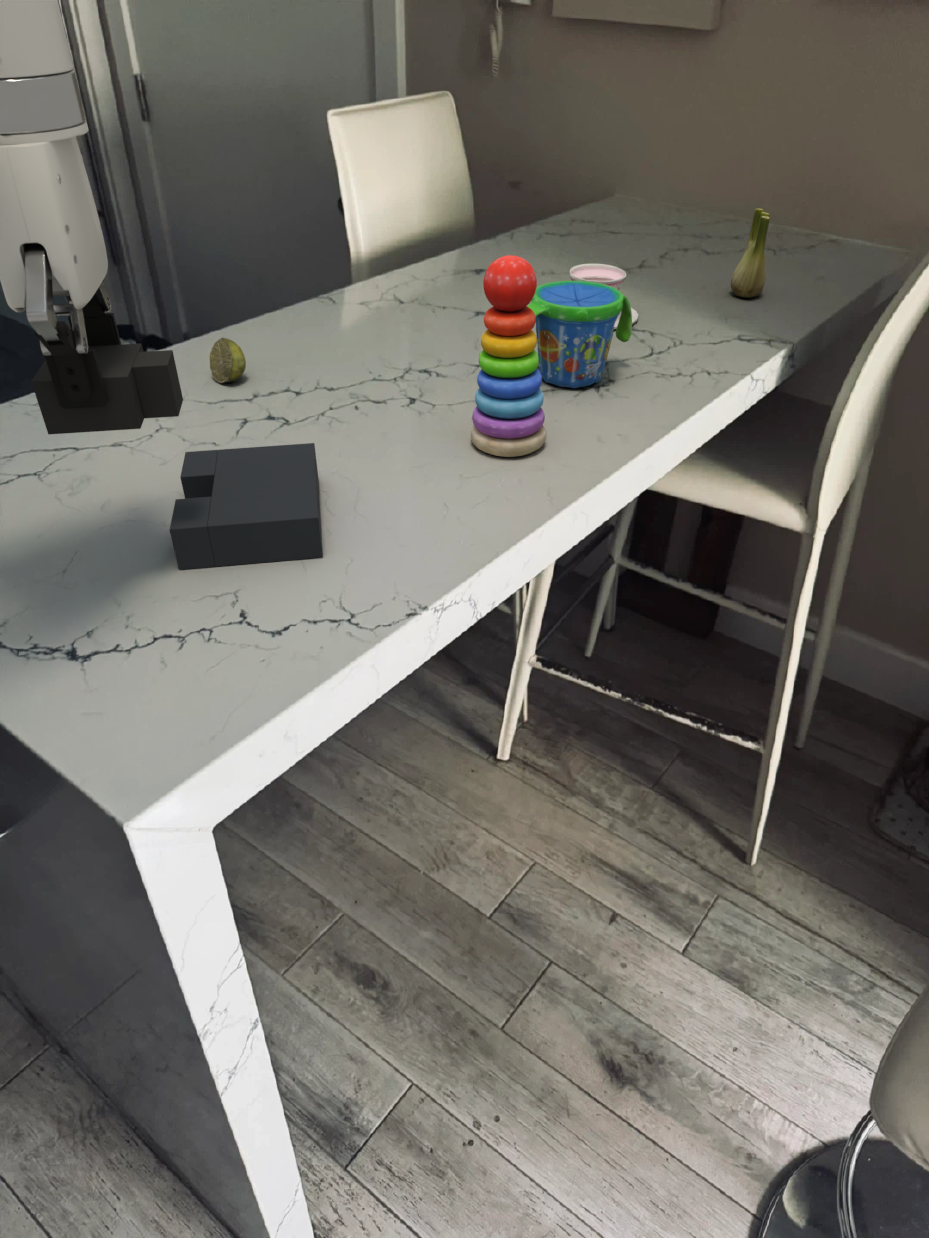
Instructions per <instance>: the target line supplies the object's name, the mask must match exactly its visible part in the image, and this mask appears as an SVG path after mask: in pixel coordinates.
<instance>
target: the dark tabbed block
mask: <svg viewBox="0 0 929 1238" xmlns="http://www.w3.org/2000/svg"><path fill="white" fill-rule="evenodd" d="M88 349H95V353H96V356H97V360H98V364H99V368H100V371H101V375H102V379H103V382H104V386H105V390H106V393H107V397H108V402H107V404H106V405H105V406H104V407H93V408H76V409H64V408H62V407H61V406H60V404H59V401H58V398H57V395H56V392H55V388H54V385H53V382H52V379H51V375H50V372H49V369H48V366H47V362H46V359H45V360H44V361H43V363H42V364H41V366H40V368H39V369H38V371H37V373H36V374H35V375H34V377H33V379H32V380H31V385H32V390H33V391H34V395H35V397H36V401H37V404H38V407H39V411H40V413H41V416H42V420H43V422H44V426H45V429H46V432H47V435H62V434H63V435H64V434H78V433H79V434H80V433H94V432H110V431H111V432H112V431H127V430H129V431H130V430H140V429H142V425H143V423H144V420H145V419H158V418H159V419H160V418H175V417H176V418H177V417H179V415H180V413H181V410H182V405H183V402H184V397H183V393H182V388H181V384H180V379H179V374H178V368H177V364H176V360H175V355H174V351H173V350H172V349H167V350H166V349H165V350H150V351H149V350H148V351H144V348H143V343H125V344H124V343H121V345H103V346H88Z"/></svg>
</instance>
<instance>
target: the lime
mask: <svg viewBox="0 0 929 1238" xmlns="http://www.w3.org/2000/svg"><path fill="white" fill-rule="evenodd" d="M246 365H247V361H246V357H245V354H244V351H243V350H242V348H241V347H240V345H239V344H237V342H235V341H234V340H232V339H229V338H226V337H221V338H218V339H217V340H216V341H215V342H214V344H213V345H212V348H211V350H210V353H209V370H210V374H211V375H212V378H213V379H214V381H216V382H217V383H219V384H228V383H233V382H234V381H236V380H238V379H239V378H241V376H242V375H243V374H244V373H245V371H246V367H247V366H246Z"/></svg>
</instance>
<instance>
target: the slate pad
mask: <svg viewBox="0 0 929 1238" xmlns="http://www.w3.org/2000/svg"><path fill="white" fill-rule="evenodd" d="M318 471H319V469H318V462H317V453H316V445H315V442H307V443H296V444H295V443H294V444H281V445H280V444H279V445H266V446H252V447H237V448H222V449H208V450H207V449H206V450H195V451H194V450H193V451H185V453H184V457H183V463H182V466H181V472H180V476H179V478H180V482H181V483H180V484H181V486H182V487H181V488H182V491H183V495H184V496H183V497H184V498H176V499H175V501H174V506H173V509H172V510H173V511H172V515H171V519H170V520H171V521H170V525H169V533H170V537H171V543H172V546H173V550H174V555H175V559H176V563H177V567H178V570H179V571H183V570H195V569H203V568H204V569H206V568H215V567H226V566H227V567H228V566H239V565H253V564H261V563H262V564H263V563H274V562H286V561H296V560H297V561H298V560H310V559H320V558H324V553H323V552H324V551H323V536H322V535H323V534H322V517H321V516H322V515H321V514H322V513H321V498H320V480H319V472H318Z"/></svg>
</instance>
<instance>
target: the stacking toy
mask: <svg viewBox="0 0 929 1238" xmlns="http://www.w3.org/2000/svg"><path fill="white" fill-rule="evenodd" d="M537 279H538V278H537V275H536V271H535V270H534V267H533V266H532V264H531V263H529V261H527V260H526V259H524V258H523V257H521V256H517V255H513V254H512V255H511V254H510V255H503V256H501V257H500V256H499V257H498V258H497V259H495V260H494V261H492V262H491V263H490V265H488V267H487V268H486V270H485V273H484V276H483V279H482V280H483V282H482V286H483V293H484V295H485V297H486V299H487V301H488V302H489V304H490V305H491V307H490V308H488V309H487V310H486V311H485V313H484V316H483V324H484V326H485V328H486V330H485V331H484V332H483V333H482V334H481V337H480V345H481V348H482V351H481V352H480V353H479V356H478V364H479V365H478V366H479V367H480V370H479V372H478V374H477V377H476V382H477V386H478V389H477V390H476V392H475V395H474V402H475V405H476V406H475V408H474V409H473V411H472V414H471V416H472V417H471V418H472V424H473V425H472V427H471V430H470V439H471V442H472V443H473V445H474V446H475V447H476V448H477V449H478V450H480V451H482V452H483V453H485V454H489V455H492V456H497V457H504V458H514V457H522V456H526V455H530V454H532V453H534V452H536V451H538V450H539V449H541V448H542V447H543V445H544V444H545V442H546V439H547V430H546V427H545V426H544V424H545V421H546V420H545V419H546V418H545V416H546V415H545V412H544V409H543V408H542V406H543V404H544V393H543V391H542V389H541V386H542V382H543V377H542V376H541V373H540V369H538V366H539V357H538V351H536V347H537V336H536V332H535V331H534V330H533V328H534V327H535V326H536V316H535V313H534V312H533V310H532V309H530V308H529V307H527V306H528V305H529V304H530V303H531V300H532V299H533V297H534V295H535V292H536V287H538V285H537V284H538V281H537Z"/></svg>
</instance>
